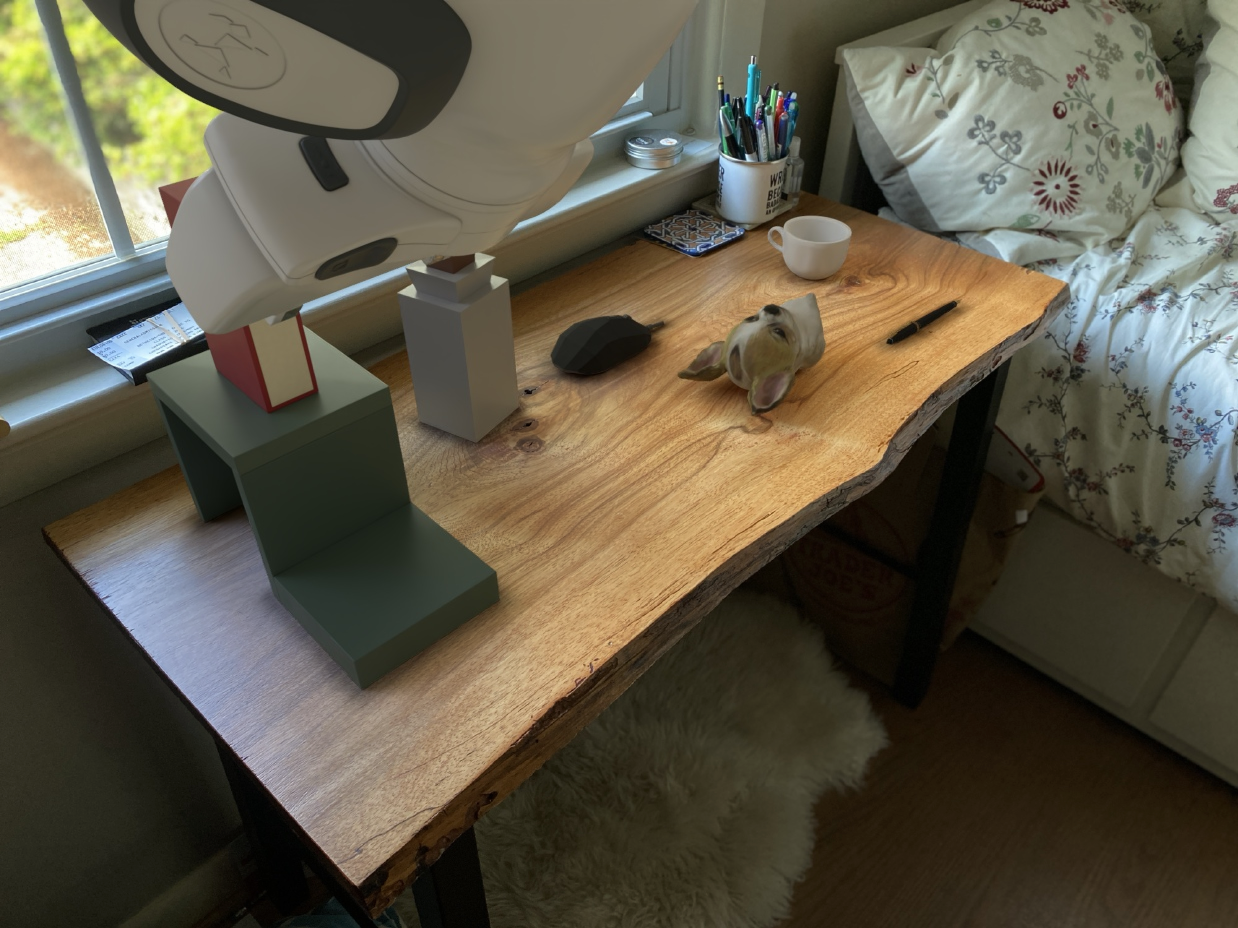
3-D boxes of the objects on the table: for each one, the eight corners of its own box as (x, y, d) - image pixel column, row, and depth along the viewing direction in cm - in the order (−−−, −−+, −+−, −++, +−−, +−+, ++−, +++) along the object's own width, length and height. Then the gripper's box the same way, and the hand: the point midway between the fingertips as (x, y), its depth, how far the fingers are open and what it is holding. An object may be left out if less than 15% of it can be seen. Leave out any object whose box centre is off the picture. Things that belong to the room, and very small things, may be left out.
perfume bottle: (476, 443, 85) (454, 262, 74) (419, 421, 88) (389, 244, 77) (519, 406, 90) (504, 231, 79) (463, 386, 92) (441, 214, 81)
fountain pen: (956, 302, 106) (959, 290, 105) (965, 306, 105) (968, 294, 104) (880, 346, 98) (882, 334, 97) (889, 351, 98) (892, 338, 97)
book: (268, 414, 65) (213, 224, 56) (215, 369, 69) (157, 187, 60) (319, 391, 67) (274, 205, 58) (265, 349, 71) (215, 171, 63)
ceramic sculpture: (861, 296, 88) (762, 364, 81) (851, 371, 94) (757, 441, 86) (771, 261, 94) (671, 321, 87) (767, 334, 100) (672, 396, 92)
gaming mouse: (683, 335, 100) (685, 302, 98) (578, 387, 92) (577, 352, 90) (643, 314, 104) (643, 281, 101) (538, 361, 96) (536, 328, 94)
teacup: (854, 267, 113) (861, 225, 109) (829, 292, 108) (836, 249, 104) (779, 247, 117) (783, 206, 113) (751, 271, 112) (755, 229, 108)
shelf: (361, 690, 63) (320, 540, 55) (198, 515, 77) (145, 374, 69) (500, 599, 70) (483, 452, 61) (326, 454, 84) (292, 317, 75)
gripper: (591, 26, 44) (481, 174, 55) (161, 129, 32) (135, 288, 44) (658, 145, 44) (534, 267, 55) (254, 289, 33) (204, 404, 44)
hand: (355, 277), depth 49 cm, fingers open, 8 cm apart
